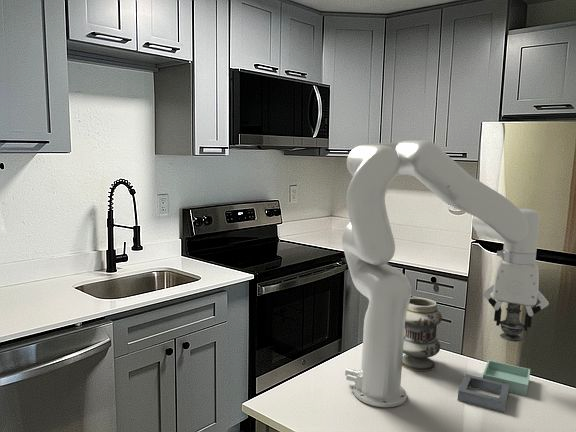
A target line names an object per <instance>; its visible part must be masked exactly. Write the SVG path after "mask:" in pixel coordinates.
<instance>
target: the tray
mask: <svg viewBox="0 0 576 432" xmlns="http://www.w3.org/2000/svg"><path fill="white" fill-rule="evenodd" d="M482 373H483V374H482V378H485V379H489V380H493V381H497V382H502V383H506V384H510V386H509V393H511V394H515V395H519V396H522V397H528V392H529V384H530V375H531V368H527V367H522V366H517V365H513V364H508V363H504V362H499V361H496V360H495V361H494V360H490V359H488V360H487V362H486V364H485V368H484V371H483V372H482Z"/></svg>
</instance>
